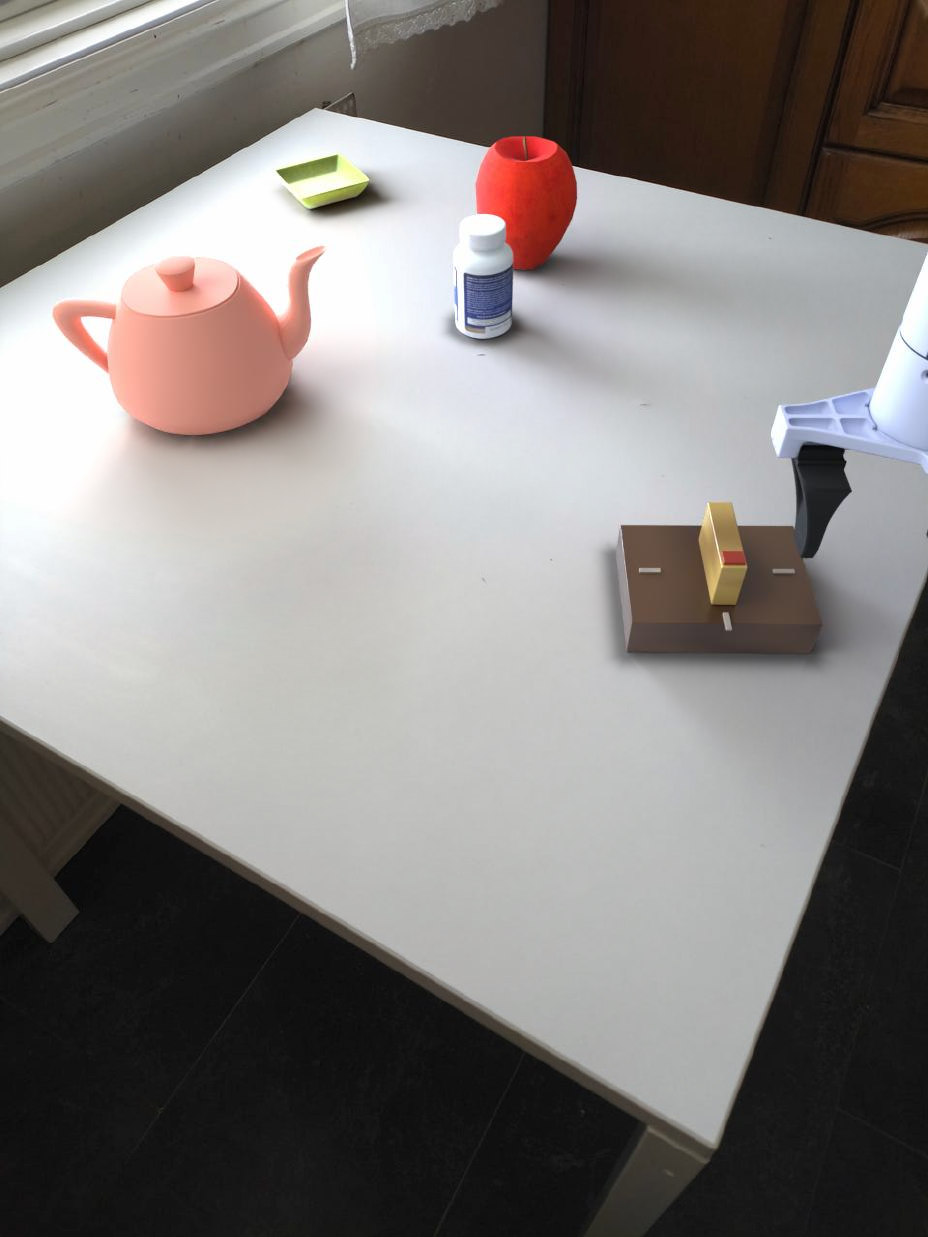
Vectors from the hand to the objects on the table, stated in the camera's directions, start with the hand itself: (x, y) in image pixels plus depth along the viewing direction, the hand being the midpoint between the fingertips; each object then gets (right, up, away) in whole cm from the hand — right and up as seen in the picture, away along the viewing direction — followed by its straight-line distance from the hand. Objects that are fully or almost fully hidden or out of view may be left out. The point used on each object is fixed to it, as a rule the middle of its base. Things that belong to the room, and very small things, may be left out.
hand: (869, 546), depth 52 cm
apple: (-17, +33, +41) cm, 55 cm away
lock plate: (-7, -3, +10) cm, 12 cm away
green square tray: (-40, +45, +52) cm, 80 cm away
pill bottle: (-22, +24, +33) cm, 46 cm away
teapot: (-45, +15, +27) cm, 55 cm away
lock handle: (-7, -1, +8) cm, 10 cm away
